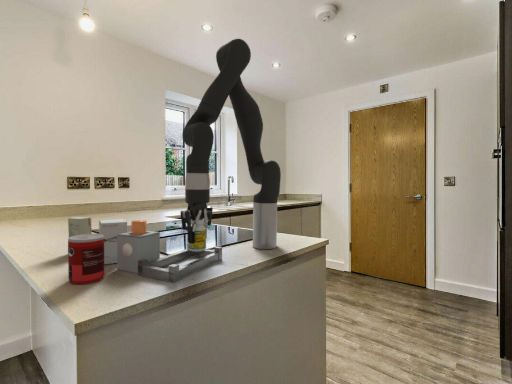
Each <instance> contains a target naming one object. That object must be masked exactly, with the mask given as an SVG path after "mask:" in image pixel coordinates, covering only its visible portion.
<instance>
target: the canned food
mask: <svg viewBox="0 0 512 384" xmlns="http://www.w3.org/2000/svg"><path fill="white" fill-rule="evenodd" d="M67 239H68V240H67V254H68V256H67V260H68V261H67V263H68V281H69V283H70V284H71V285H72V284H73V285H77V286H78V285H79V286H80V285H89V284H93V283H97V282H100V281H101V280H103V279H104V277H105V264H104V235H101V234H99V233H92V234H82V235H75V236H71V237H69V236H68V238H67Z"/></svg>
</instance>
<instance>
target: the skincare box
mask: <svg viewBox="0 0 512 384" xmlns="http://www.w3.org/2000/svg"><path fill="white" fill-rule="evenodd" d="M67 227H68V228H67V229H68V230H67V231H68V238H69V237H71V236H75V235H82V234H93V233H92V217H87V216H74V217H67Z"/></svg>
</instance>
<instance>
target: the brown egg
mask: <svg viewBox="0 0 512 384" xmlns="http://www.w3.org/2000/svg"><path fill="white" fill-rule="evenodd" d="M146 231H147V220H145V219H135V220H131V231H130V232H131V234H132V235H142V234H146Z"/></svg>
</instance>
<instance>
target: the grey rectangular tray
mask: <svg viewBox="0 0 512 384" xmlns="http://www.w3.org/2000/svg"><path fill="white" fill-rule="evenodd" d="M191 257H196V258H198V259H196V260H193V261H191V262H189V263H187V264H186V263H185V264H184V265H182V266H180V265H179V264H176V263H179V262H181V261H184V260H187V259H189V258H191ZM222 259H223V246H215V247H214V248H213V249H208V248H206V249H205V250H203V251H190V250H189V243H187V248H186V249H183V250H179V251H177V252H174V253H171V254H169V255H166V256H162V257H160V258H159V259H157V260H154V261H151V262H148V259H140V260H138V273H137V276H141V277H145V278H149V279H155V280H158V281H165V282H170V283H177V282H178V281H180V280H183V279H184V278H186V277H189V276H190V275H192V274H194V273H197V272H198V271H200V270H202V269H205V268H206V267H209V266H211V265H213V264H214V263H217V262H218V261H219V262H220V261H222Z"/></svg>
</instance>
